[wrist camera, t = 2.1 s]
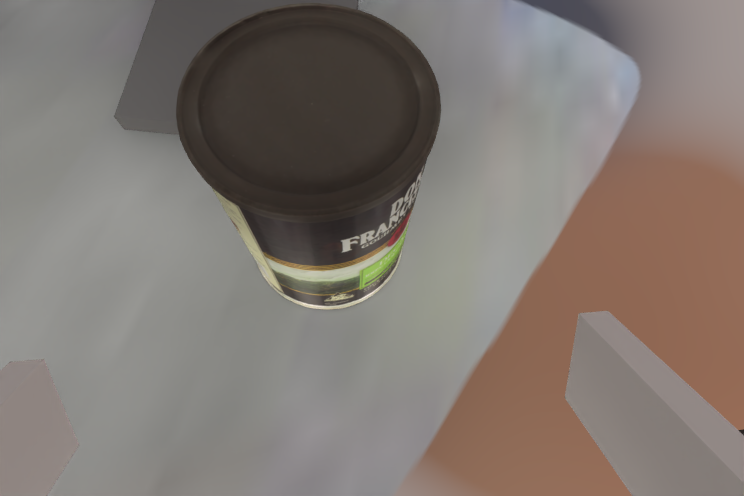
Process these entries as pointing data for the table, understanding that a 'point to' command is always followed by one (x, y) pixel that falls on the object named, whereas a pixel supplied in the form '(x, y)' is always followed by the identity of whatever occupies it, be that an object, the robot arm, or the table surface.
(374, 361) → the table surface
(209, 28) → the mat
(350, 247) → the coffee can
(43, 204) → the table surface
